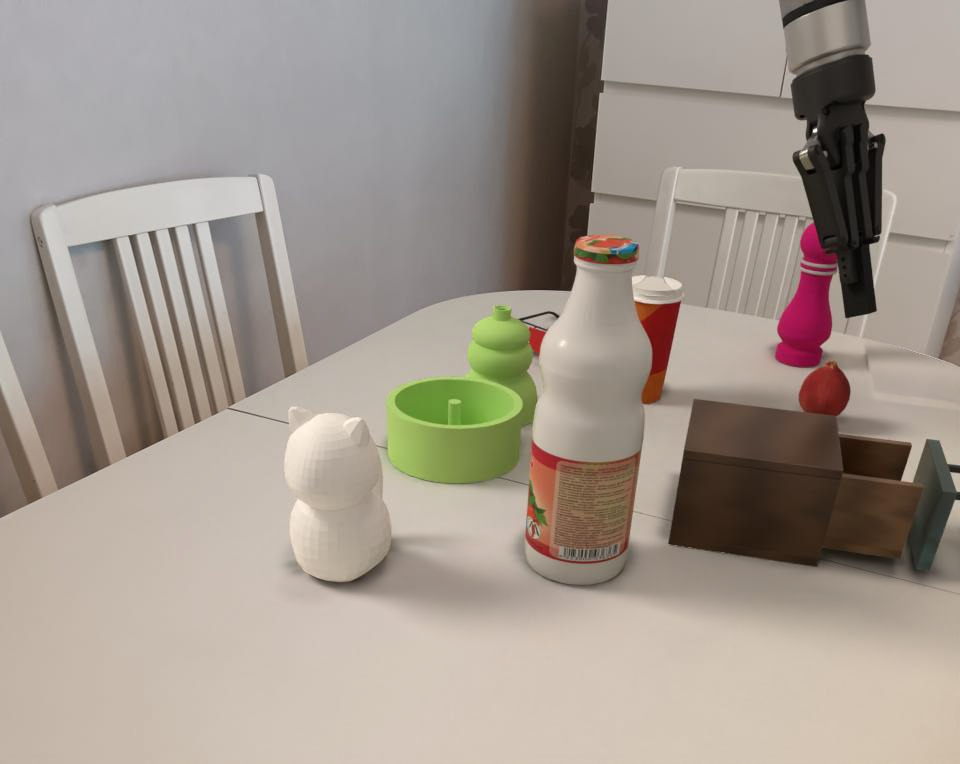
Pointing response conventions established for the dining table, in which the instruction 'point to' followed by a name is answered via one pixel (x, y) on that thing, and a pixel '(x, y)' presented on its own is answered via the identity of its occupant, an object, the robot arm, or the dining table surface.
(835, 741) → the dining table surface
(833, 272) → the pepper mill
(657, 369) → the paper cup
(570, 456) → the fruit juice
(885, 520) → the wooden drawer
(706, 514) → the drawer cabinet
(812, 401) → the onion
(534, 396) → the green round pieces
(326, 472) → the cat figurine
